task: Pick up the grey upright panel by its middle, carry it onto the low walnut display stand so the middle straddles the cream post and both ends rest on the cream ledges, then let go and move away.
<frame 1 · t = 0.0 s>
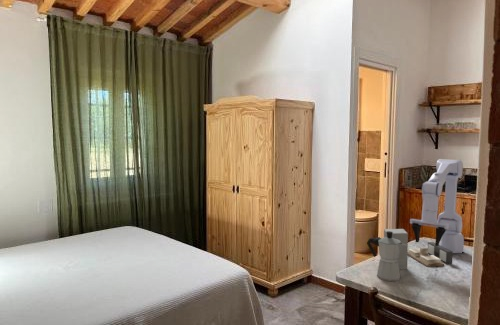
hand: (426, 243, 153), 11 cm above the table, tool pointing down, fingers open, 7 cm apart
skincare box: (394, 267, 156), on the table
display stand: (423, 259, 165), on the table
grey upright panel: (439, 258, 166), on the table
coffee maker: (385, 276, 146), on the table
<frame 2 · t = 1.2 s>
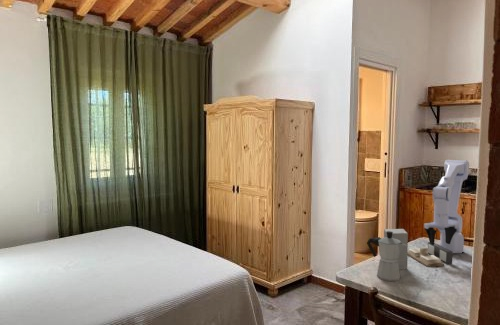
hand: (439, 243, 166), 7 cm above the table, tool pointing down, fingers open, 7 cm apart
nothing on the table moved.
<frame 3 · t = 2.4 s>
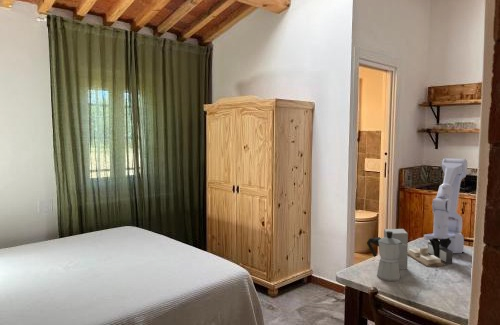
hand: (439, 254, 166), 2 cm above the table, tool pointing down, fingers closed on grey upright panel, 2 cm apart
grey upright panel: (439, 258, 166), on the table, touching gripper
everything else where it was.
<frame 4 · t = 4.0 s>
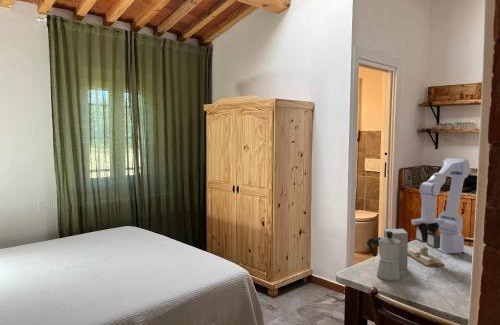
hand: (427, 239, 165), 9 cm above the table, tool pointing down, fingers closed on grey upright panel, 2 cm apart
grey upright panel: (427, 243, 165), point 7 cm above the table, touching gripper
everything else where it was.
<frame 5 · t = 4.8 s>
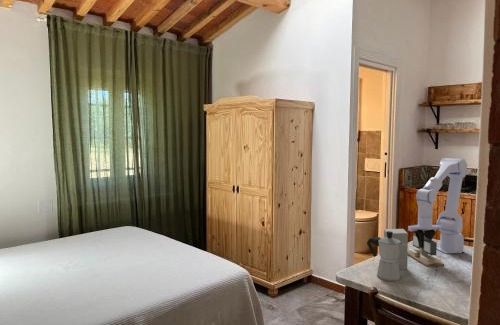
hand: (424, 246, 165), 6 cm above the table, tool pointing down, fingers closed on grey upright panel, 2 cm apart
grey upright panel: (424, 250, 165), point 4 cm above the table, touching gripper
everything else where it was.
when the fingers open (5 cm above the table, at t = 5.6 s): grey upright panel drops 1 cm, resting on display stand.
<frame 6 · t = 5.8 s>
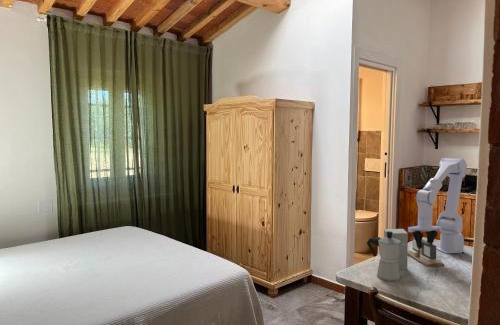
hand: (424, 247, 165), 5 cm above the table, tool pointing down, fingers open, 4 cm apart
grey upright panel: (424, 253, 165), point 3 cm above the table, touching display stand
everything else where it was.
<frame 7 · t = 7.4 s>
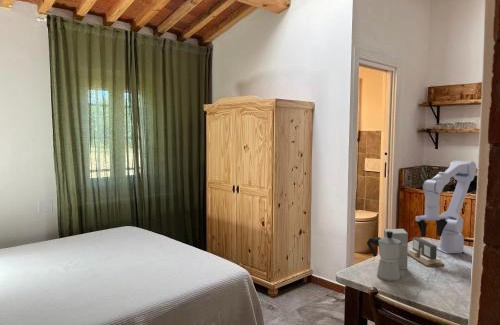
hand: (431, 236, 169), 9 cm above the table, tool pointing down, fingers open, 7 cm apart
nothing on the table moved.
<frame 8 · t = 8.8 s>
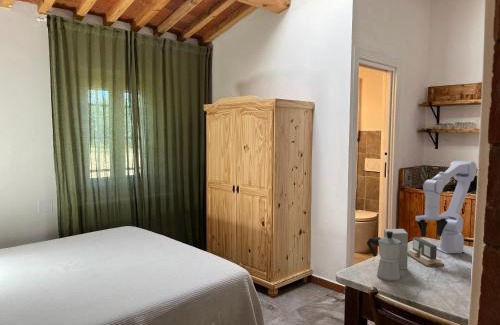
hand: (431, 236, 169), 9 cm above the table, tool pointing down, fingers open, 7 cm apart
nothing on the table moved.
at the end: grey upright panel 0.0 cm off-centre on the display stand, point 2.5 cm above the display stand's base; grey upright panel tilted 0°; the gripper is holding nothing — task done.
